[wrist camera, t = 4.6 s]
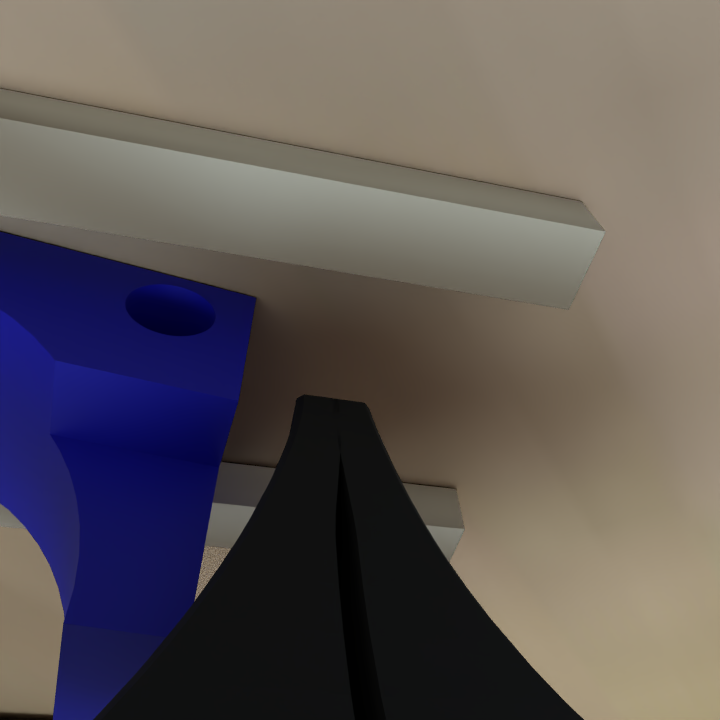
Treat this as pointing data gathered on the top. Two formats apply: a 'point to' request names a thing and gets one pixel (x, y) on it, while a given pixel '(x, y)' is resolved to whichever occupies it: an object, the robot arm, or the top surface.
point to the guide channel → (288, 229)
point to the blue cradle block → (114, 445)
